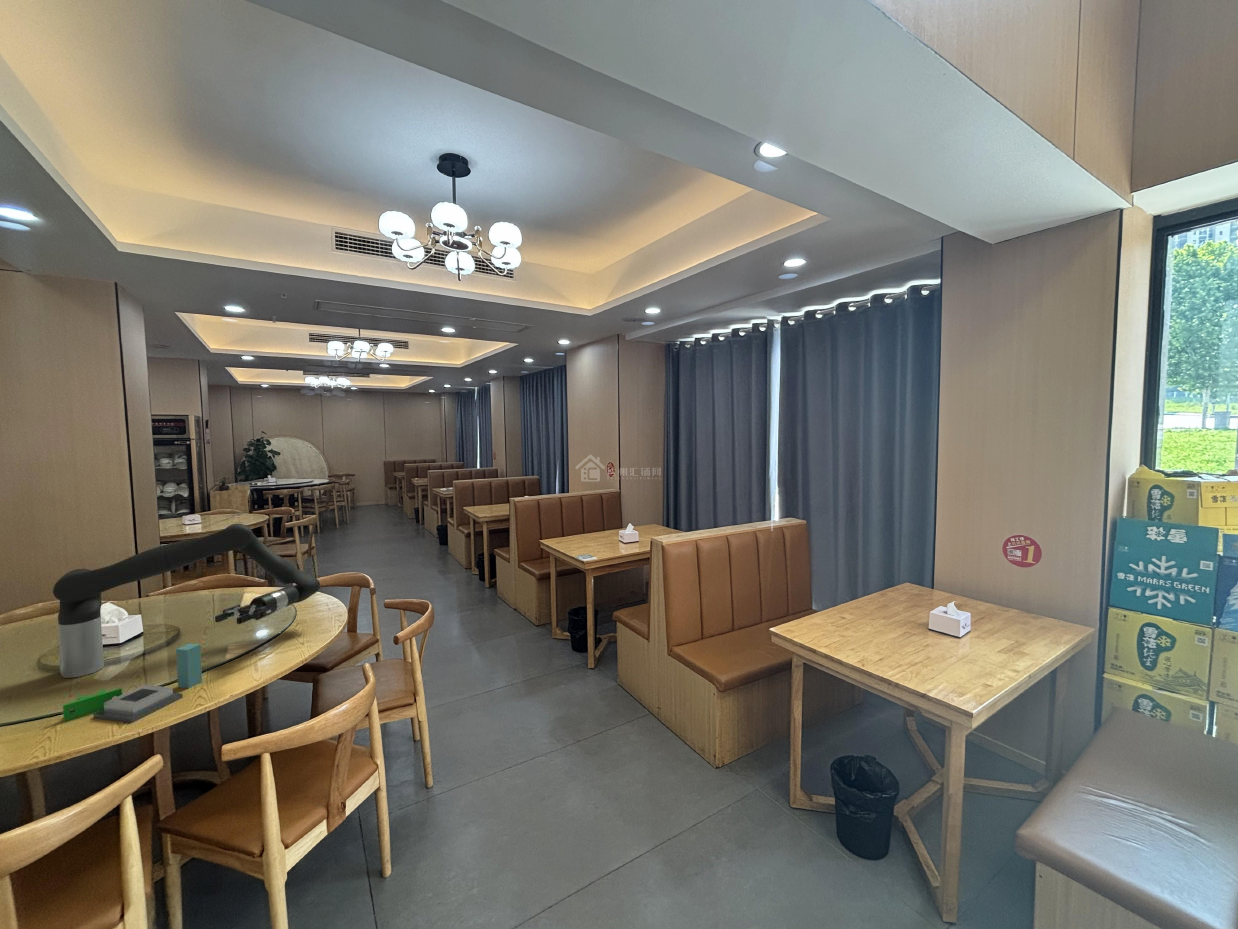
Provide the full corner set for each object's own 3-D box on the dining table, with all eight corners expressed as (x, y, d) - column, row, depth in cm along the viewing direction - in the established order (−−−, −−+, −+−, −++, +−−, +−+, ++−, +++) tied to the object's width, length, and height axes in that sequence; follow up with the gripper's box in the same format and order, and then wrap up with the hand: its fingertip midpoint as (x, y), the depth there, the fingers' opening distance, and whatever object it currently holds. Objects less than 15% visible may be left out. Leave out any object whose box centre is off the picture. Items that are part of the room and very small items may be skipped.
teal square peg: (178, 687, 150) (176, 649, 149) (191, 680, 154) (189, 643, 153) (188, 688, 149) (187, 650, 148) (202, 681, 153) (200, 644, 152)
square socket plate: (93, 717, 133) (92, 705, 133) (146, 692, 146) (146, 681, 146) (131, 723, 131) (131, 710, 131) (182, 697, 144) (182, 685, 144)
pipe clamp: (119, 699, 143) (119, 684, 143) (122, 703, 141) (122, 688, 140) (62, 717, 134) (61, 701, 133) (64, 722, 132) (63, 705, 131)
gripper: (252, 592, 179) (208, 608, 163) (285, 594, 177) (244, 610, 161) (253, 612, 180) (209, 630, 164) (286, 614, 177) (245, 633, 161)
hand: (226, 620), depth 162 cm, fingers open, 8 cm apart
